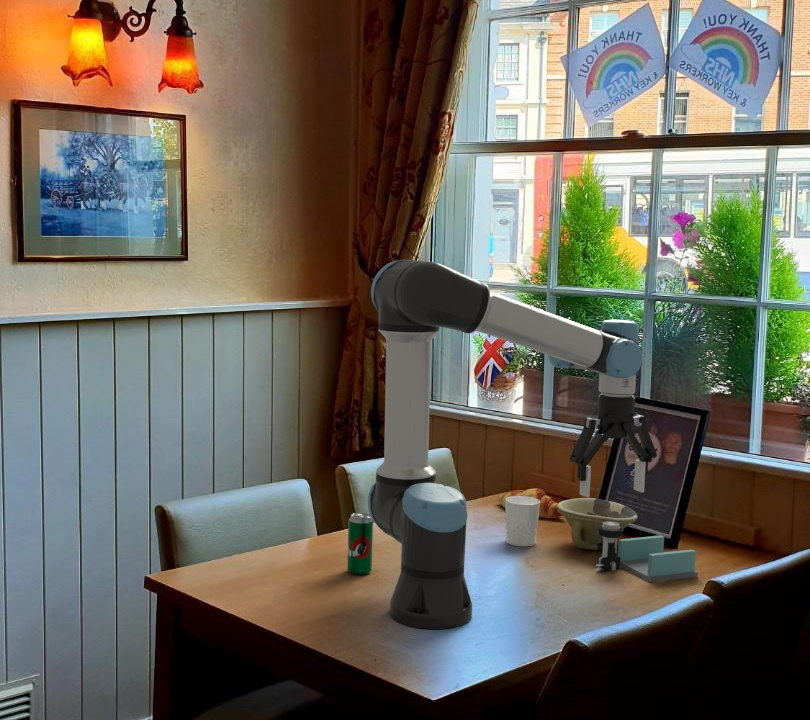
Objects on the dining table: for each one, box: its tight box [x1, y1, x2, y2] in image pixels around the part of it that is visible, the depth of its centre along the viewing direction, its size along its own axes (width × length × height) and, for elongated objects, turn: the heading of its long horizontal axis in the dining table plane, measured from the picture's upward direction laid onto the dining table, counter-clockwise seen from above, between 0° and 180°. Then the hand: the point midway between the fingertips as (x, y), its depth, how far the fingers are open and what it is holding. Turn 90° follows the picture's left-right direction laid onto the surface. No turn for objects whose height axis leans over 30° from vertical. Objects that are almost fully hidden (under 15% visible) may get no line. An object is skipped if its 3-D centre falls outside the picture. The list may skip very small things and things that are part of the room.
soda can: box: [346, 512, 374, 576], centre depth 218 cm, size 5×5×12 cm
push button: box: [595, 521, 625, 573], centre depth 225 cm, size 7×5×10 cm
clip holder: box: [617, 535, 699, 583], centre depth 226 cm, size 12×13×6 cm
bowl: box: [557, 497, 639, 552], centre depth 242 cm, size 18×18×10 cm
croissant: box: [497, 488, 564, 519], centre depth 270 cm, size 21×10×8 cm, turn 47°
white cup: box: [504, 496, 540, 548], centre depth 243 cm, size 8×8×10 cm
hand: (611, 493), depth 224 cm, fingers open, 13 cm apart
